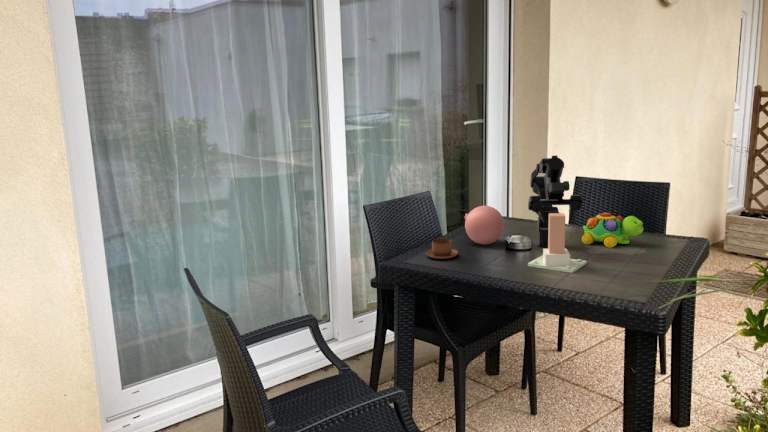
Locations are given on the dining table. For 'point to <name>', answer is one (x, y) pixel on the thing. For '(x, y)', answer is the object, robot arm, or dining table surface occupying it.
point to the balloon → (484, 224)
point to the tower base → (558, 268)
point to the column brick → (556, 233)
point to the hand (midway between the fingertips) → (557, 222)
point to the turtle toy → (611, 229)
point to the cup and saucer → (441, 249)
